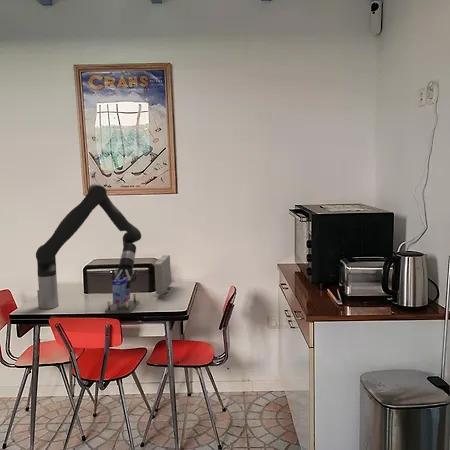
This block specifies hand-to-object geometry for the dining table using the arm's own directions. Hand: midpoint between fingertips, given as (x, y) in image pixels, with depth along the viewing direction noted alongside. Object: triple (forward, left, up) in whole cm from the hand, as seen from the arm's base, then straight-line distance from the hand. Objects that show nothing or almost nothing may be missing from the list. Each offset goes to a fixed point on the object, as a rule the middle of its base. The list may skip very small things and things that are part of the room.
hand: (121, 288), depth 230 cm
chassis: (0, 0, -11) cm, 11 cm away
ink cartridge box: (0, 0, -7) cm, 7 cm away
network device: (+15, +31, -11) cm, 36 cm away
